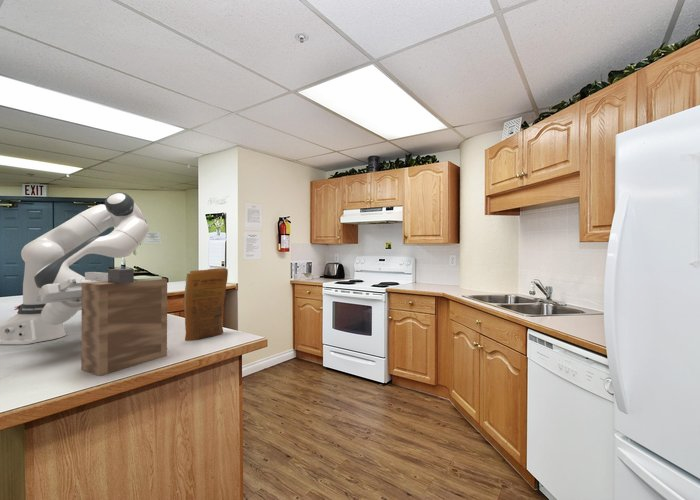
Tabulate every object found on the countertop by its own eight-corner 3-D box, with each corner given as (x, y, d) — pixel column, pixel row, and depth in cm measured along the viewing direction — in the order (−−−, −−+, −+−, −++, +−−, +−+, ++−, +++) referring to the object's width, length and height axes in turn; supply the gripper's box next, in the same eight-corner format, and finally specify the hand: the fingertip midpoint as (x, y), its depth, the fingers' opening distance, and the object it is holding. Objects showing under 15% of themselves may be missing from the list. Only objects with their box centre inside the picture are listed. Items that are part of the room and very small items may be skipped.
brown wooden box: (81, 369, 96) (81, 280, 96) (148, 350, 114) (149, 275, 114) (99, 376, 91) (99, 281, 91) (166, 355, 109) (167, 276, 109)
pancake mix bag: (231, 333, 138) (232, 268, 138) (186, 343, 123) (187, 270, 123) (223, 330, 142) (223, 267, 142) (178, 340, 127) (179, 269, 127)
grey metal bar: (81, 279, 103) (81, 267, 103) (96, 278, 107) (96, 266, 107) (119, 283, 94) (119, 270, 94) (133, 282, 98) (133, 269, 98)
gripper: (29, 293, 101) (47, 272, 96) (103, 286, 120) (121, 269, 114) (33, 311, 100) (52, 291, 95) (107, 301, 118) (126, 285, 113)
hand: (90, 279), depth 105 cm, fingers open, 8 cm apart
